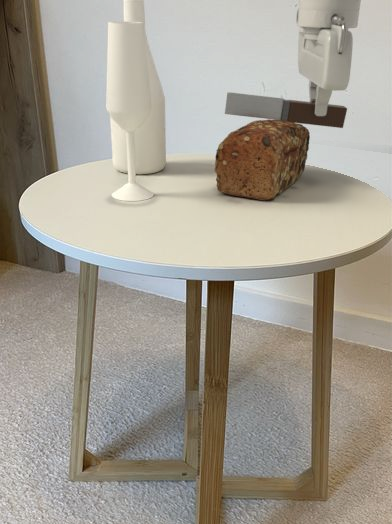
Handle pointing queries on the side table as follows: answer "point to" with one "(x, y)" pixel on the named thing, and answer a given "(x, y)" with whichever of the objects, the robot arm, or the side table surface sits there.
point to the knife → (283, 110)
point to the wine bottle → (153, 128)
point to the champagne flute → (128, 94)
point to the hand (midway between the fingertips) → (317, 113)
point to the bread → (261, 158)
